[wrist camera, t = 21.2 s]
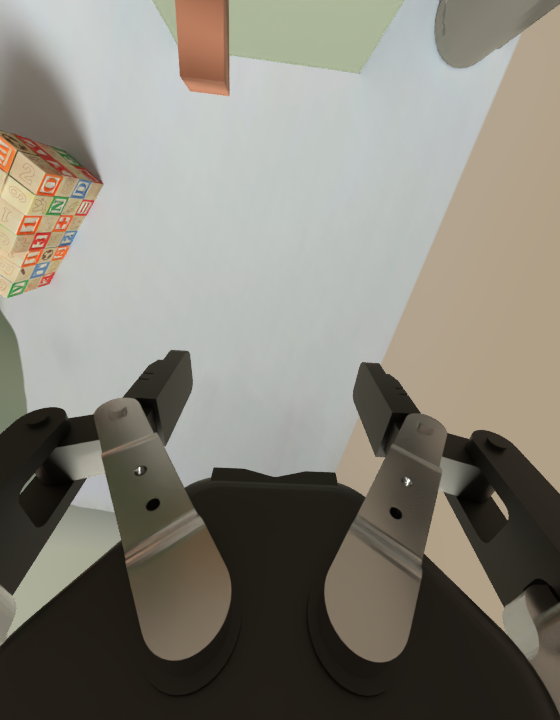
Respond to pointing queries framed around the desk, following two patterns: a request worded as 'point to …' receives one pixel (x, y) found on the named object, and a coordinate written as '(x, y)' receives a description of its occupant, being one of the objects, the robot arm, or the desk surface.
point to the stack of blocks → (38, 210)
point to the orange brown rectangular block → (204, 45)
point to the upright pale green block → (303, 30)
